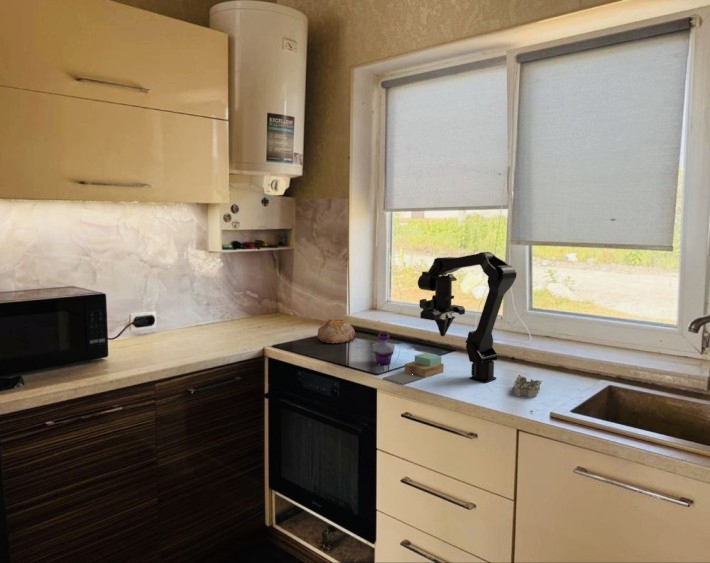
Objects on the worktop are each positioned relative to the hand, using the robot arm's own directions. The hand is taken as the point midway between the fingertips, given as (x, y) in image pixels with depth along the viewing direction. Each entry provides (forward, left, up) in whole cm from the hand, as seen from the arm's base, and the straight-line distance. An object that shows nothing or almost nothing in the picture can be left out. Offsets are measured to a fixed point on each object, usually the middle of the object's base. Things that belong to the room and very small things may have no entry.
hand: (442, 336), depth 195 cm
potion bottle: (+18, +12, -12) cm, 24 cm away
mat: (0, +21, -11) cm, 24 cm away
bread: (+58, -1, -12) cm, 60 cm away
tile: (0, +8, -7) cm, 11 cm away
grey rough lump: (-35, +3, -12) cm, 37 cm away
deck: (0, +10, -11) cm, 15 cm away
